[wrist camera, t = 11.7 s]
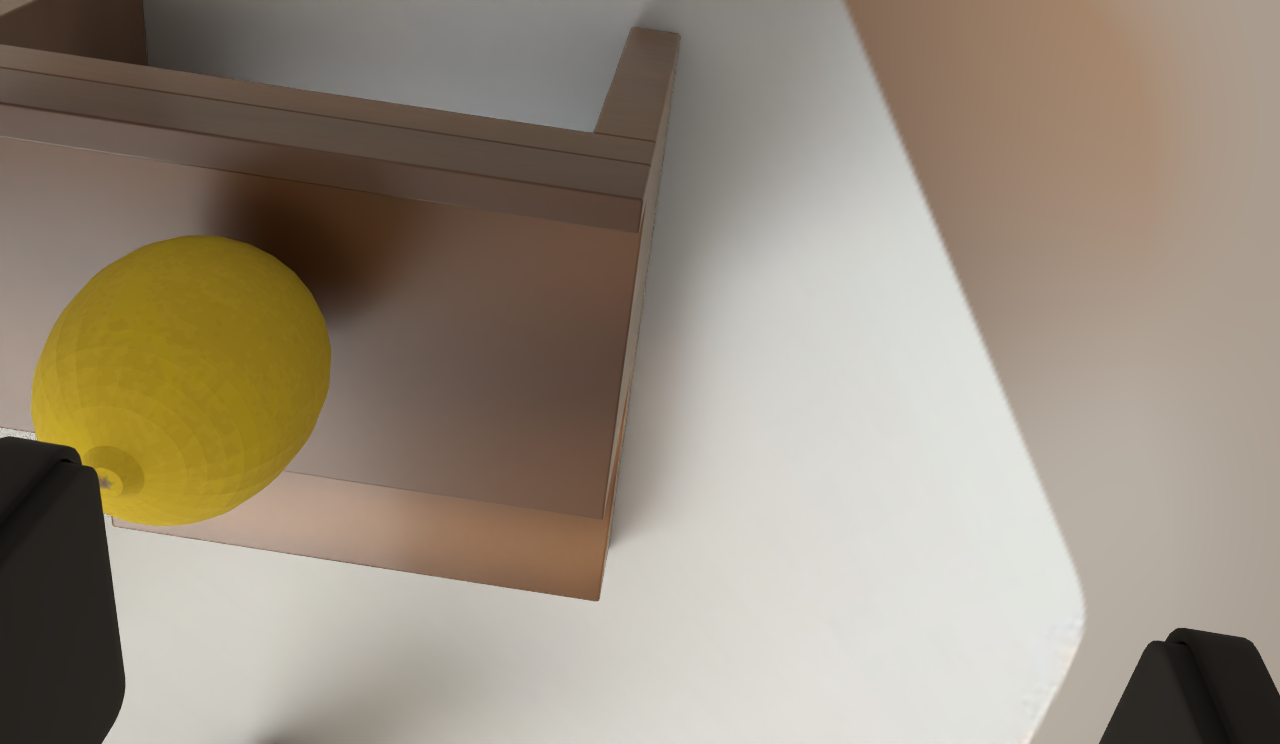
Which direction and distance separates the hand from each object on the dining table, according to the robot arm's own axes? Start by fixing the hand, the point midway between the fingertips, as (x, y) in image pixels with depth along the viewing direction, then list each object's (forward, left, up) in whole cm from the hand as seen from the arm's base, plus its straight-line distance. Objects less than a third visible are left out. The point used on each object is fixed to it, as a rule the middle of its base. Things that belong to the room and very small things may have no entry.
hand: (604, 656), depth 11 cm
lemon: (+7, -10, -17) cm, 21 cm away
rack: (+12, -10, -28) cm, 32 cm away
